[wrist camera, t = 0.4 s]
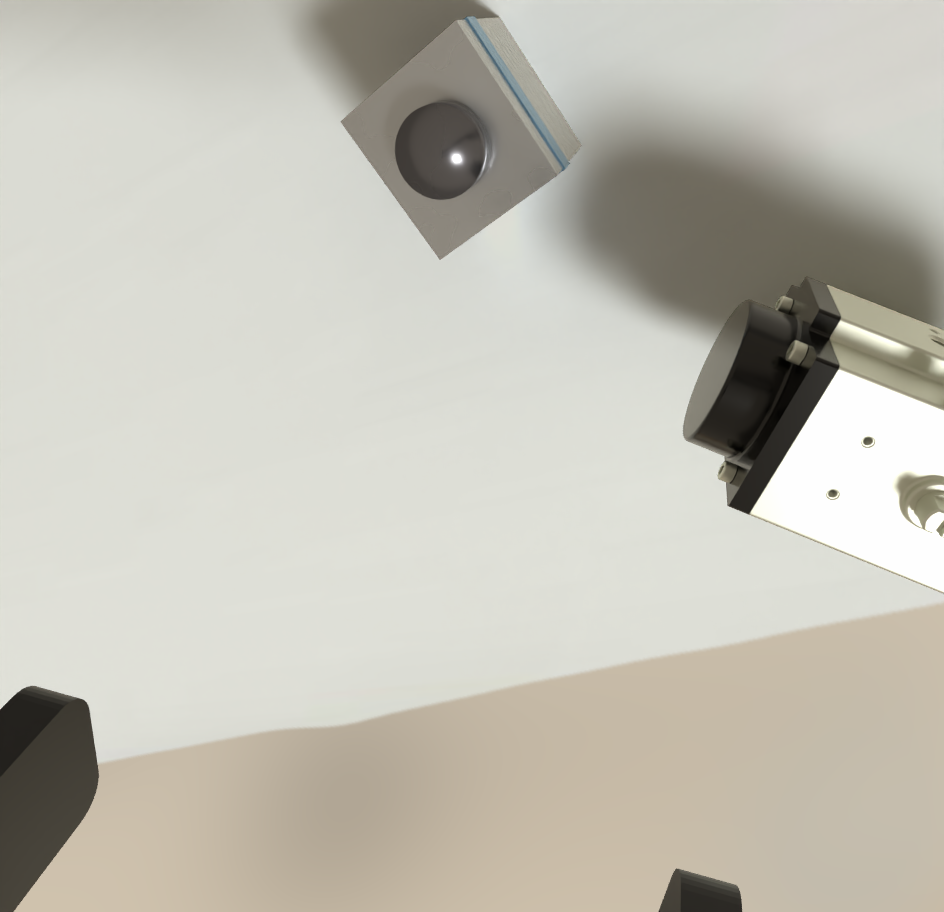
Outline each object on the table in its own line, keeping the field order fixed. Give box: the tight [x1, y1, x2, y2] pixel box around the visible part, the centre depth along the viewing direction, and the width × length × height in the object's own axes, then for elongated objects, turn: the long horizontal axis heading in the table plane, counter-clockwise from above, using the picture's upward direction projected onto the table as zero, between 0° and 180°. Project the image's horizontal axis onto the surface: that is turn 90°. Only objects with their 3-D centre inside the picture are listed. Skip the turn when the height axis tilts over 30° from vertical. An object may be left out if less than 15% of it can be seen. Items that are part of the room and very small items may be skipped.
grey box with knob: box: [341, 16, 582, 260], centre depth 27 cm, size 5×5×7 cm
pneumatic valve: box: [683, 277, 944, 594], centre depth 25 cm, size 6×12×12 cm, turn 72°
